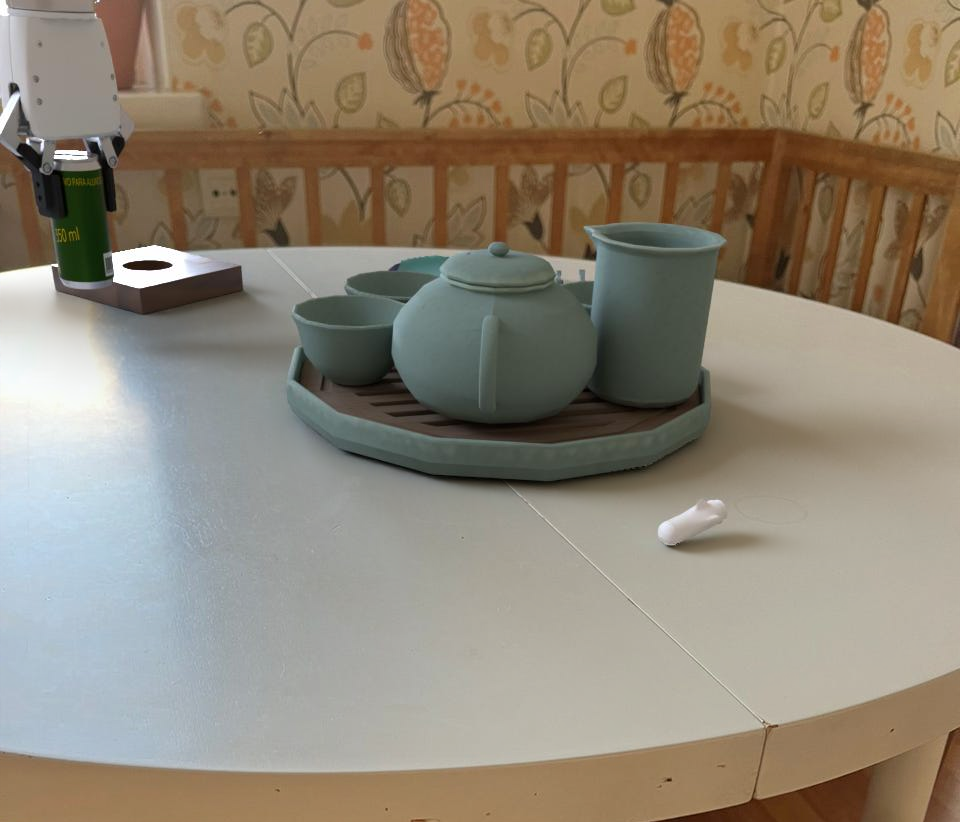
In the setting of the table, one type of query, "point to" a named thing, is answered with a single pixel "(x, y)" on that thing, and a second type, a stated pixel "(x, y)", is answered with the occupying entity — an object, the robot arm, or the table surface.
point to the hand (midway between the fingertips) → (78, 211)
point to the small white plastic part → (692, 521)
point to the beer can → (82, 223)
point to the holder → (160, 280)
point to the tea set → (516, 359)
